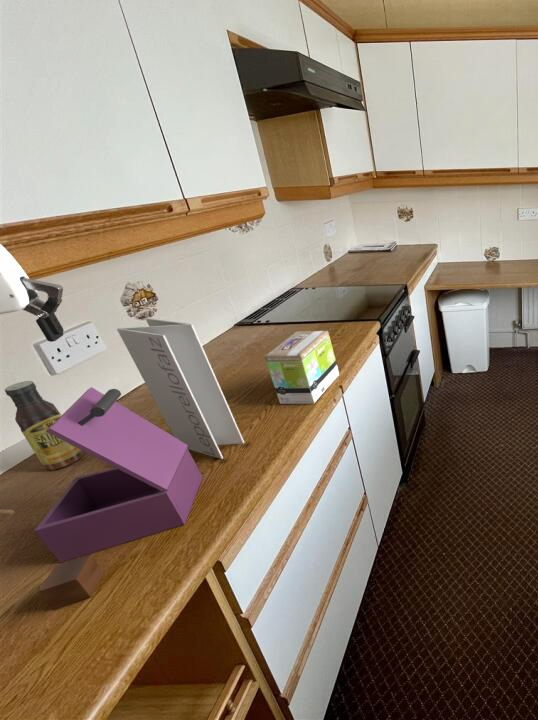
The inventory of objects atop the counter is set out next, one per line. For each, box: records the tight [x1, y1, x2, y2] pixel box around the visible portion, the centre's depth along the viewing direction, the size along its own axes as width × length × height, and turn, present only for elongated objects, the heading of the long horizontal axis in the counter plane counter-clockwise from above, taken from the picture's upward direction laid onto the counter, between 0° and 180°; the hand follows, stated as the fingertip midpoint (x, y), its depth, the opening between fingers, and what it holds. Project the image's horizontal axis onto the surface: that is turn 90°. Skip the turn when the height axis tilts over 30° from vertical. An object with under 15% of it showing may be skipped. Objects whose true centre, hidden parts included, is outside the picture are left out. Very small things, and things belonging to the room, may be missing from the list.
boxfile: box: [34, 449, 203, 564], centre depth 74 cm, size 18×13×8 cm
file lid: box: [46, 386, 188, 492], centre depth 70 cm, size 18×13×5 cm
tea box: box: [264, 330, 340, 405], centre depth 110 cm, size 15×10×15 cm
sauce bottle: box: [4, 380, 83, 471], centre depth 87 cm, size 6×6×20 cm
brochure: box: [116, 317, 245, 460], centre depth 87 cm, size 14×6×30 cm, turn 70°
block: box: [37, 554, 105, 611], centre depth 62 cm, size 4×4×4 cm
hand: (17, 345), depth 65 cm, fingers open, 9 cm apart
